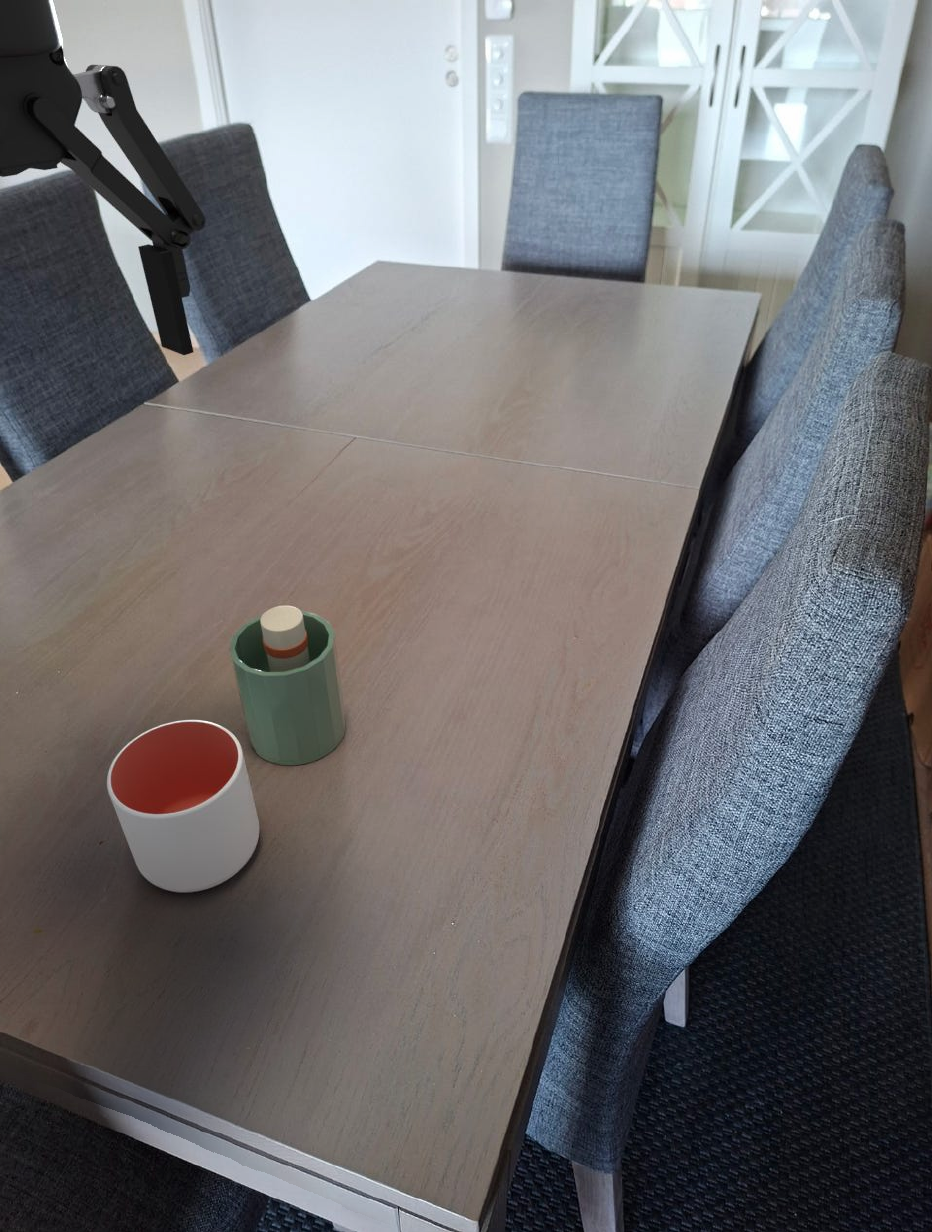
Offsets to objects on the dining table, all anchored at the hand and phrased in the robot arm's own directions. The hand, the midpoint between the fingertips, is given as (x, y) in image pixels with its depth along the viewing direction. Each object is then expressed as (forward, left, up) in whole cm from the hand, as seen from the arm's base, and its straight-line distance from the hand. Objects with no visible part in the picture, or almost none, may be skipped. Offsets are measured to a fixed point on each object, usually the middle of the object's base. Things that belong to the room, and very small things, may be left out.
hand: (84, 380), depth 55 cm
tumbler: (+10, -1, -38) cm, 39 cm away
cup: (-4, -6, -38) cm, 38 cm away
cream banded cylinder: (+10, -2, -37) cm, 38 cm away
